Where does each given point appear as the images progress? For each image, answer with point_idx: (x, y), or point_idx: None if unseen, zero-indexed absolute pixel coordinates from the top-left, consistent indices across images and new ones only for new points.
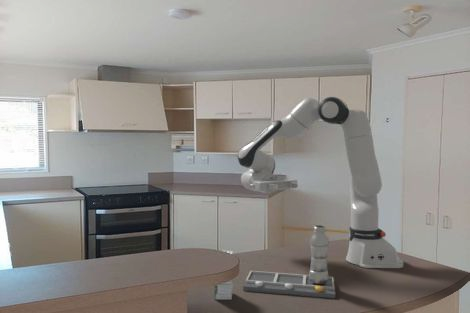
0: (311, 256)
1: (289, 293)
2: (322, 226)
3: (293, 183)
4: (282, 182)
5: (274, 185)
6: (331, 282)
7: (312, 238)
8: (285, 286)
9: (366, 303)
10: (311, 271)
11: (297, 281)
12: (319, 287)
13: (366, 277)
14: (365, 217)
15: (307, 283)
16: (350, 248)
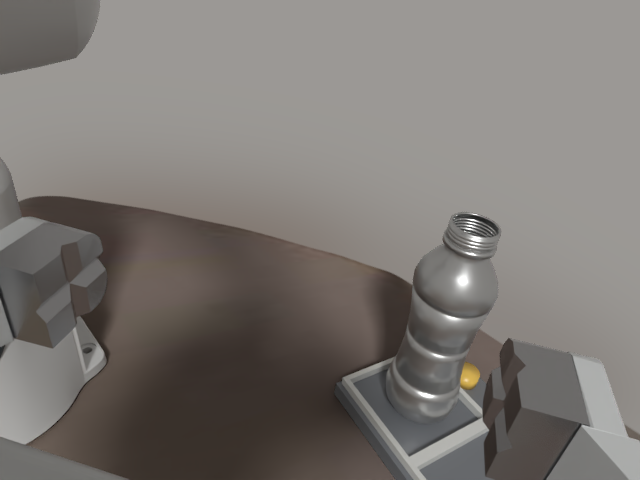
0: (466, 349)
1: None
2: (451, 224)
3: (24, 258)
4: (57, 468)
5: (618, 443)
6: (374, 376)
7: (496, 281)
8: None
9: (397, 296)
10: (459, 383)
11: (470, 468)
12: (468, 368)
13: (210, 336)
14: (14, 191)
15: (451, 430)
16: (12, 388)
